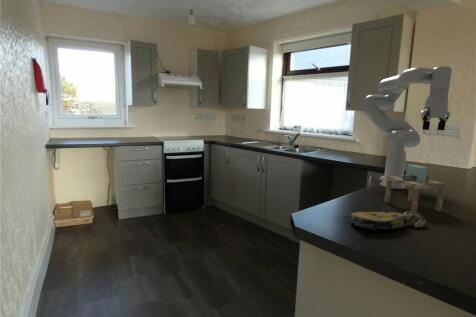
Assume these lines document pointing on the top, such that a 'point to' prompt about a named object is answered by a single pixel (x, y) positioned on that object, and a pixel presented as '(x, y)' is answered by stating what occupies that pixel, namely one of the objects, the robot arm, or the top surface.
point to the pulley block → (386, 219)
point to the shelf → (415, 189)
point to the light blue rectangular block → (417, 173)
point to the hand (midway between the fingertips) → (433, 129)
